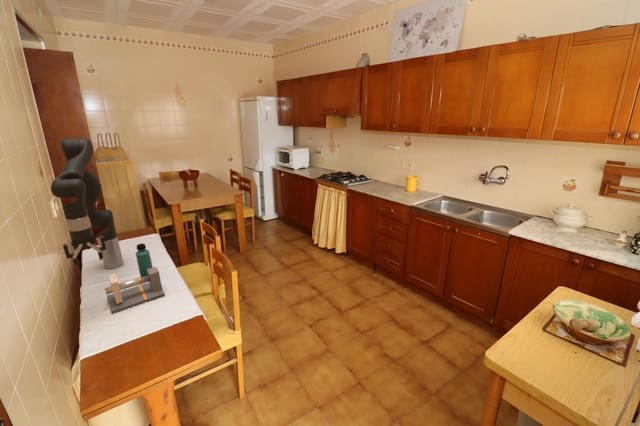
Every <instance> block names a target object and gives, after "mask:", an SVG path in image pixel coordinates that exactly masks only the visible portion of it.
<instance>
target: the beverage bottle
mask: <svg viewBox="0 0 640 426" xmlns="http://www.w3.org/2000/svg"><path fill="white" fill-rule="evenodd" d="M136 250H137V251H136V252H135V257H136V261H137V262H136V263H137V266H138V271H139V272H138V273H139V276H140V277H144V276H147V275H148V272H147V269H150V268H153V267H154V266H153V262H152V259H151V255H150V254H151V253H150V250H149V249H147V246H146V244H145V243H138V244H137V245H136Z"/></svg>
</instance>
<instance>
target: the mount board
mask: <svg viewBox="0 0 640 426" xmlns="http://www.w3.org/2000/svg"><path fill="white" fill-rule="evenodd" d="M147 272H148V275H149V277H150V281H149V282H146V283H143V284H139V285H136V286H133V287H129V288H126V289H123V290H120V291H121V295H122V299H123V302H120V303H116V300H115V297H114V293H110V294H107V295H106V298H107V302H108V305H109V306H108V307H109V309H110V313H111V314H110V315H114V313H115V314H116V313H120V312H123V311H126V310H128V308H129V309H132V308H134V307H133V306H135V307H137V305H138V306H140V304H141V305H143V303H144V304H146V303H145V302H147V303H149V302H153V301H155V300H157V299H161V298H163V297H166V294H165V292H164V290H163V287H162V281H161V276H160V271H159V270H158V267H156V266H153V268H150V269H147ZM131 307H132V308H131Z"/></svg>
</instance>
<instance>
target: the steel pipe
mask: <svg viewBox="0 0 640 426" xmlns="http://www.w3.org/2000/svg"><path fill="white" fill-rule="evenodd" d="M149 281H150V277H149V275H147V276H144V277H141V276H140V277H138V278H134V279H131V280H127V281H125V282H121V283H119V287H120V291H124V290H127V289H130V288H133V287H136V286H140V285H143V284H146V283H149ZM104 290H105V291H104V292H105V294H106V296H107V295H111V294H114V293H113V288H112V286H108V287H104Z"/></svg>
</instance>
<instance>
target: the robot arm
mask: <svg viewBox="0 0 640 426" xmlns="http://www.w3.org/2000/svg"><path fill="white" fill-rule="evenodd" d="M60 145H61V146H60V147H61V150H62V153H63V155H64V157H65V160H66V163H65V164H64V165H63V167H62V169H61V173H60V174H59V175H57V176H56V177H55V178H54V179H53V180H52V182H51V185H50V192H51V193H52V195H53V196H54V197H56V198H59V199H65V198H74V197H75V199H76V200H73V201H70V202H66V203H65V204H63V206H62V210H63V213H64V216H65V220H66V226H67V230H68V233H69V236H70V242H69V243H63V244H62V248H63V251H64V254H65V257H66V259H67V260H68V259H73V263H74V265H75V266H77V267H79V266H80V262H79V259H78V256H79V253H80V252H83V251H86V250H91V249H93V250H94V251H96V252H97V255H98V259H99V261H102V263H103V266H104V269H107V270H112V269H113V270H114V269H117V268H119V267H122V266H123V265H124V260H123V255H122V254H123V253H122V251H121V246H120V242H119V238H118V234H117V230H116V225H115V218H114V214H113V212H112V210H110V209H103V210H95V206H96V203H97V202H98V200H99V199H100V197H101V194H102V187H101V183H100V180H99V178H98V177H97V176H96V174H94V173H92V172H91V171H89V170H88V169H87V166H88V165H89V163H90V162H91V160H92V158H93V156H94V153H95V151H94V145H93V142H92V141H91V139H90V138H86V137H70V138H69V137H68V138H67V137H66V138H63V139H61V141H60ZM99 228H100V229H101V228H105V230H102V231H100V232H98V233H97V234H96V237H95V235H94V231H93V229H99ZM96 242H97V243H98V245H97V244H96ZM71 247H73V248H74V250H73V253H70V249H71Z"/></svg>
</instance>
